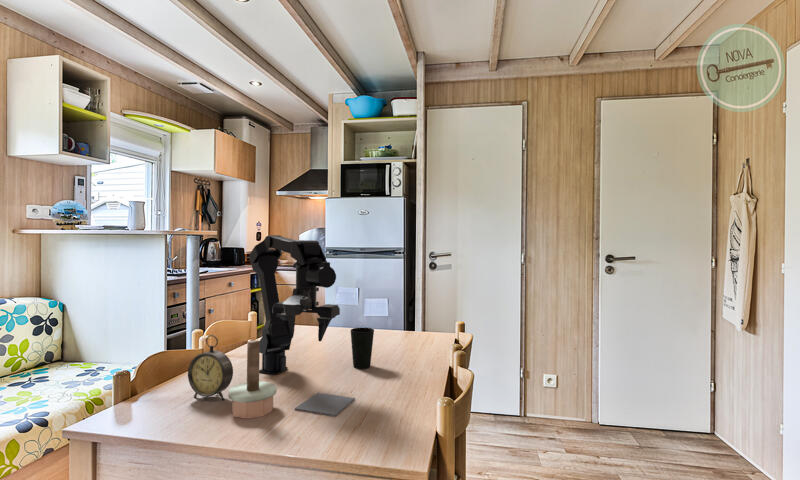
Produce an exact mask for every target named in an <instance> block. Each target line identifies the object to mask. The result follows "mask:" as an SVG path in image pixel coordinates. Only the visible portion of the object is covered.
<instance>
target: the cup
mask: <svg viewBox="0 0 800 480" xmlns="http://www.w3.org/2000/svg"><path fill="white" fill-rule="evenodd" d="M374 332H375V329H374V328H372V327H364V326H363V327H354V328H351V329H350V342H351V353H352V366H353V367H352V368H354V369H355V370H356V369H357V370H366V369H369V368H371V365H372V364H371V361H372V353H373V345H374V344H373V343H374V335H375V333H374Z"/></svg>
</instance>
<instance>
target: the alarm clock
mask: <svg viewBox="0 0 800 480" xmlns="http://www.w3.org/2000/svg"><path fill="white" fill-rule="evenodd" d="M210 337H213V338H214V339H215V340H216V341H215V342H216V344H215V345H209V343H208V339H209V338H210ZM218 341H219V340H218V338H217V337H216V336H215V335H213V334H211V335H208V336H206V339H205V343H206V345H207V347H208V348H209V351H206V352H202V353H199V354H197V355H196V356H195V357H193V359H191V361H190V363H189V366H188V369H187V380H188V383H189V386H190V387H191V389H192V390H193V392H195V393H194V395H193V398H197V396H198V395H199V396H200V397H204V398H208V397H213V396H215V395H219V397H220V398H221V401H224V400H225V397H224V395H223V391H225V390H226V389H227V388H228V387H229V386H230V384H231V383H232V380H233V376H234V367H233V363H232V361H231V359H230V358H229V357H228V355H226V353H224V352H222V351H219V350H214V348H216V347H217V345H218V343H219V342H218Z"/></svg>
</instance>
